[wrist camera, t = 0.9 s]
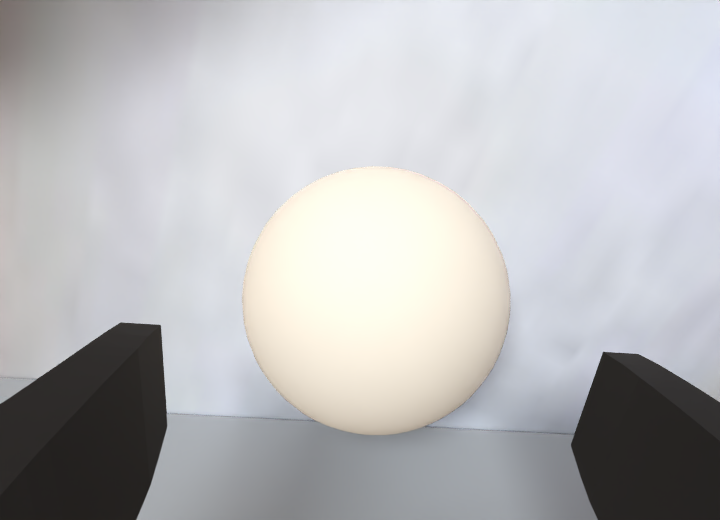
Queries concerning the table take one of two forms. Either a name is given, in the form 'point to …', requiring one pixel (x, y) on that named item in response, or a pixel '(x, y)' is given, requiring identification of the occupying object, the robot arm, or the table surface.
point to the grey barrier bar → (355, 472)
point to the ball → (376, 300)
